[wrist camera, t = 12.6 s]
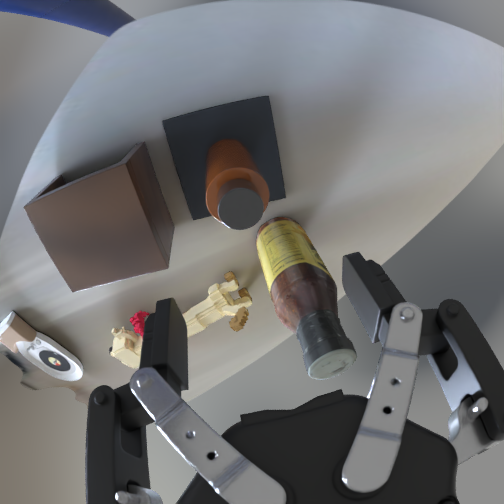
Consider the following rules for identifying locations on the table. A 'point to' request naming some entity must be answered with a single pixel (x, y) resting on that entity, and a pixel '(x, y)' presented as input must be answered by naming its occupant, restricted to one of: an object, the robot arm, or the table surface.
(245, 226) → the spice bottle
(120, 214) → the brown open box
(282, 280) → the sauce bottle
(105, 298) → the table surface
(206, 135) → the mat
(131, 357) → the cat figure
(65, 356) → the record player
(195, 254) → the table surface
